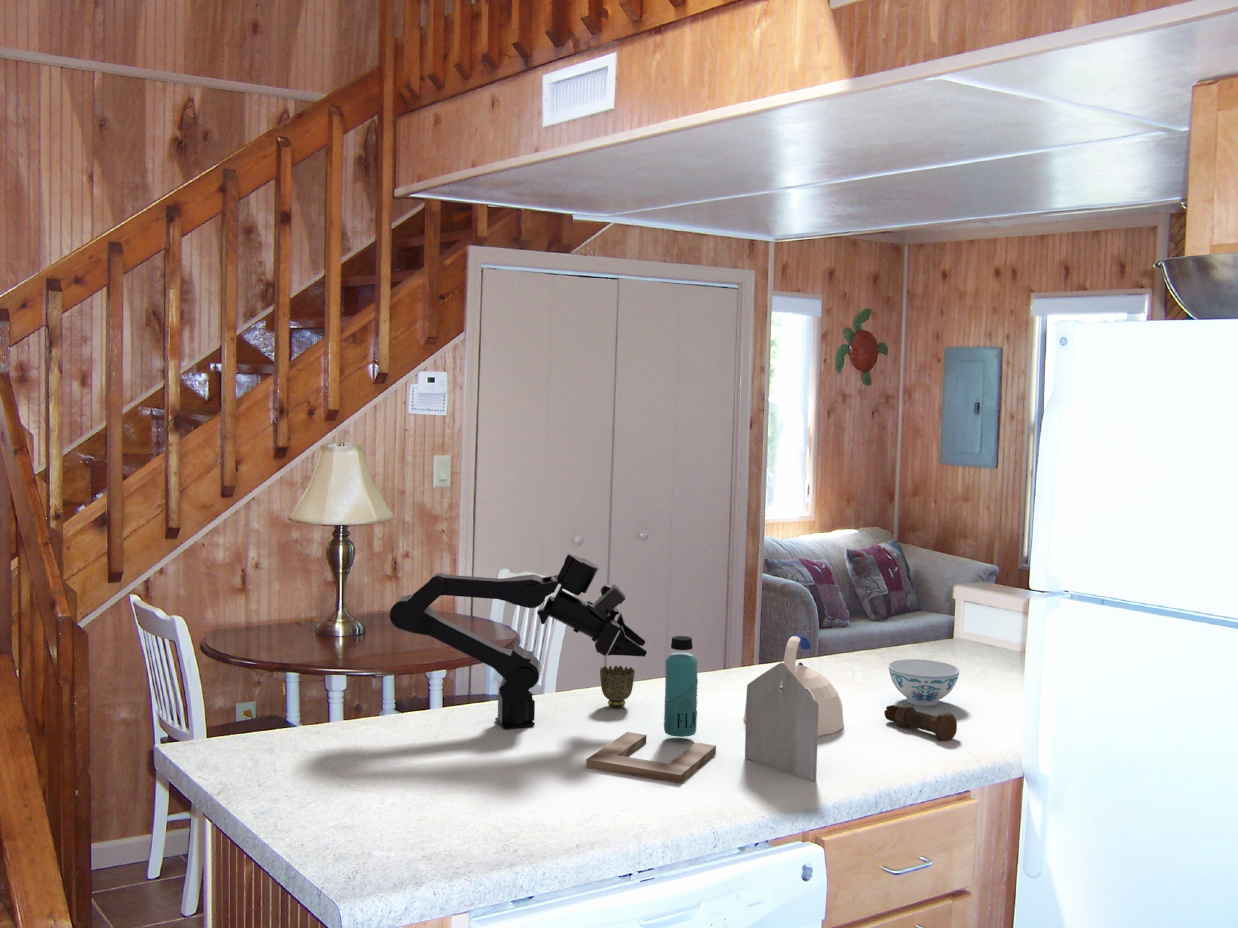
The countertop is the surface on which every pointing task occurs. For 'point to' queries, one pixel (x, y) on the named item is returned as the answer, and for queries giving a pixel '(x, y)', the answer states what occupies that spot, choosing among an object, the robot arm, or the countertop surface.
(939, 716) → the bolt
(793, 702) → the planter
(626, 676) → the cup
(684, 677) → the beverage bottle
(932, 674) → the chinaware
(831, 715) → the kettle
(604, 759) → the notched board
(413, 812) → the countertop surface
